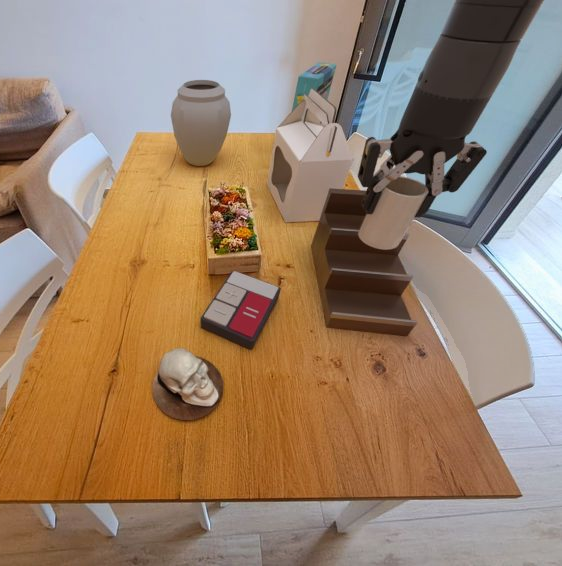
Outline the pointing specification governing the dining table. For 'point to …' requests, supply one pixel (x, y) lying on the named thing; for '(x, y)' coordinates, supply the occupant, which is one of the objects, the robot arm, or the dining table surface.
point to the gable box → (308, 159)
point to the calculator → (241, 309)
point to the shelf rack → (358, 271)
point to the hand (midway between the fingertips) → (391, 212)
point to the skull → (186, 385)
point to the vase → (200, 120)
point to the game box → (314, 82)
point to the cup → (393, 213)
